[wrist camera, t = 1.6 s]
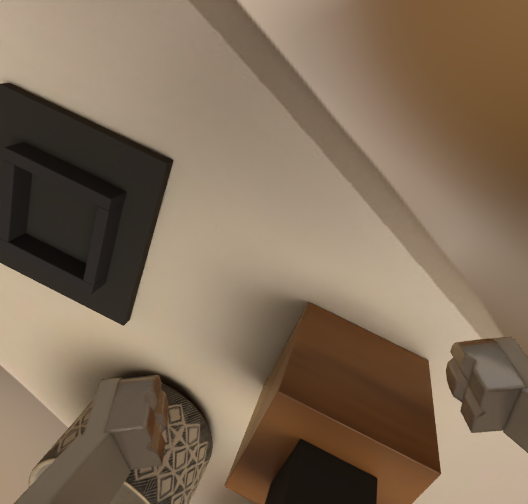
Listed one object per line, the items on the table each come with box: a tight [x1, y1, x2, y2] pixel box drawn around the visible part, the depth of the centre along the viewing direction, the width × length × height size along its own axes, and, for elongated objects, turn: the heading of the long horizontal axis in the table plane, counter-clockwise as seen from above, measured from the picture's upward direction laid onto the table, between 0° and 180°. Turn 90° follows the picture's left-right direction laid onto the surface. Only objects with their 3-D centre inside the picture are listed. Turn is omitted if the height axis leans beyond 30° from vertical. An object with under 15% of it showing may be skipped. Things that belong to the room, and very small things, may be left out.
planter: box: [29, 383, 212, 504], centre depth 39 cm, size 13×13×10 cm
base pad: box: [0, 83, 173, 326], centre depth 34 cm, size 16×14×3 cm
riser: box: [225, 303, 441, 504], centre depth 31 cm, size 10×10×10 cm
